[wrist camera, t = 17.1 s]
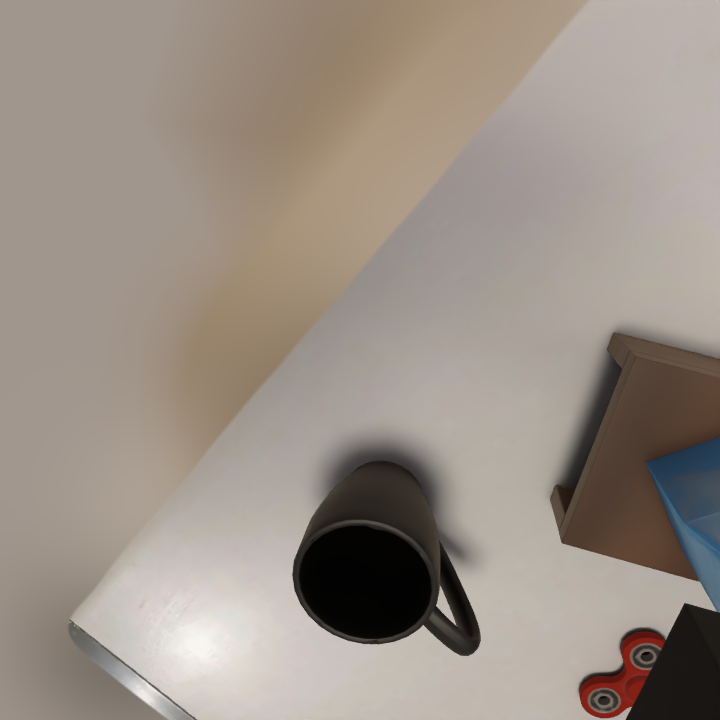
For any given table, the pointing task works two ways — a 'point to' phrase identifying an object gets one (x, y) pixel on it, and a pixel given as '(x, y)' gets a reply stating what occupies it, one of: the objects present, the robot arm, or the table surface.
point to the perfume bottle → (694, 507)
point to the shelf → (640, 454)
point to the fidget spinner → (622, 677)
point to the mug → (380, 564)
